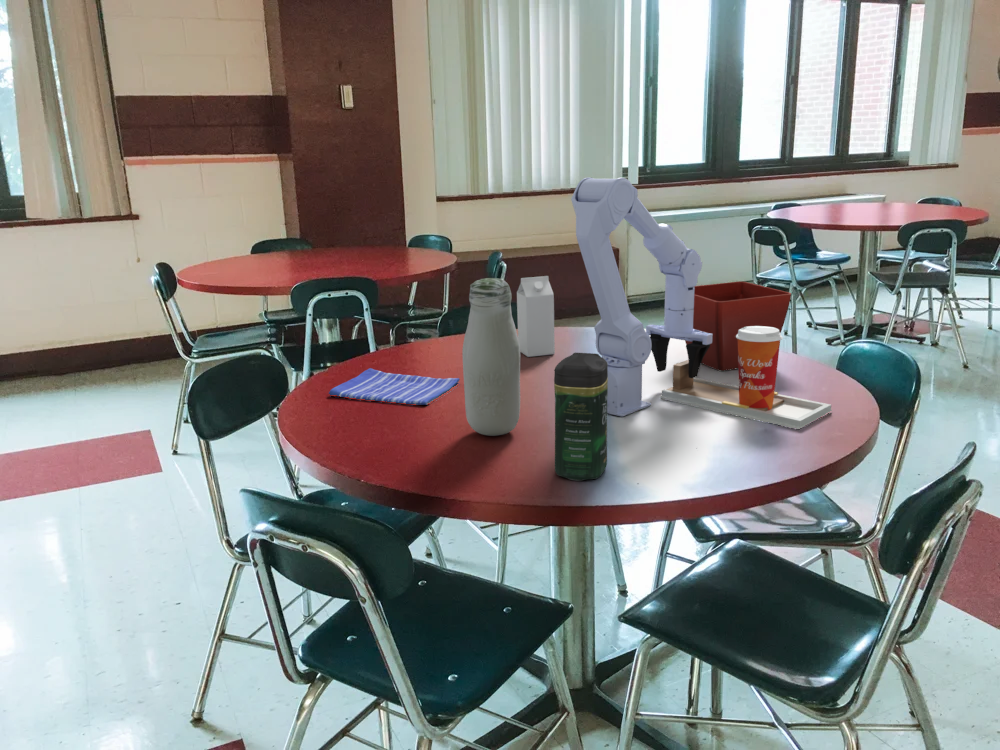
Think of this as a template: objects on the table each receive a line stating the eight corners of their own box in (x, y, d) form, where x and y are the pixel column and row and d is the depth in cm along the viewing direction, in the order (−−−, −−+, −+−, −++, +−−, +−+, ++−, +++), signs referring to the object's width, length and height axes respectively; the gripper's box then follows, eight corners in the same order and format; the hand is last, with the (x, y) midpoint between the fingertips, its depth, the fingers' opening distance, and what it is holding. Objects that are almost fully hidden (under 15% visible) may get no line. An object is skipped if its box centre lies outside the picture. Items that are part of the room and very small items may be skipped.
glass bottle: (462, 442, 141) (454, 283, 134) (472, 423, 151) (465, 274, 144) (518, 443, 140) (513, 282, 132) (524, 424, 150) (520, 273, 142)
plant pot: (714, 377, 176) (717, 300, 171) (670, 357, 193) (671, 287, 189) (789, 367, 181) (794, 293, 177) (739, 349, 199) (742, 281, 194)
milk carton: (518, 351, 204) (516, 276, 199) (544, 348, 206) (543, 274, 201) (527, 357, 198) (525, 280, 192) (554, 354, 200) (553, 277, 194)
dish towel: (369, 378, 186) (368, 366, 185) (462, 386, 177) (461, 374, 176) (326, 399, 171) (325, 386, 170) (425, 409, 162) (425, 396, 161)
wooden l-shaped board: (759, 414, 149) (761, 385, 147) (663, 393, 164) (664, 366, 162) (783, 402, 155) (785, 374, 154) (689, 383, 170) (690, 357, 168)
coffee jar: (601, 484, 122) (601, 365, 117) (550, 480, 124) (548, 363, 119) (611, 461, 131) (612, 349, 126) (563, 457, 133) (562, 347, 128)
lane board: (798, 430, 142) (799, 419, 141) (660, 398, 162) (660, 389, 162) (831, 412, 151) (832, 402, 150) (696, 384, 171) (696, 375, 170)
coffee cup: (726, 409, 153) (728, 331, 149) (743, 398, 159) (746, 323, 155) (769, 416, 148) (773, 336, 144) (786, 405, 154) (790, 327, 150)
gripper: (721, 309, 160) (718, 375, 163) (660, 301, 170) (659, 364, 173) (702, 314, 155) (699, 383, 159) (640, 306, 165) (639, 370, 169)
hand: (677, 373), depth 166 cm, fingers open, 7 cm apart
